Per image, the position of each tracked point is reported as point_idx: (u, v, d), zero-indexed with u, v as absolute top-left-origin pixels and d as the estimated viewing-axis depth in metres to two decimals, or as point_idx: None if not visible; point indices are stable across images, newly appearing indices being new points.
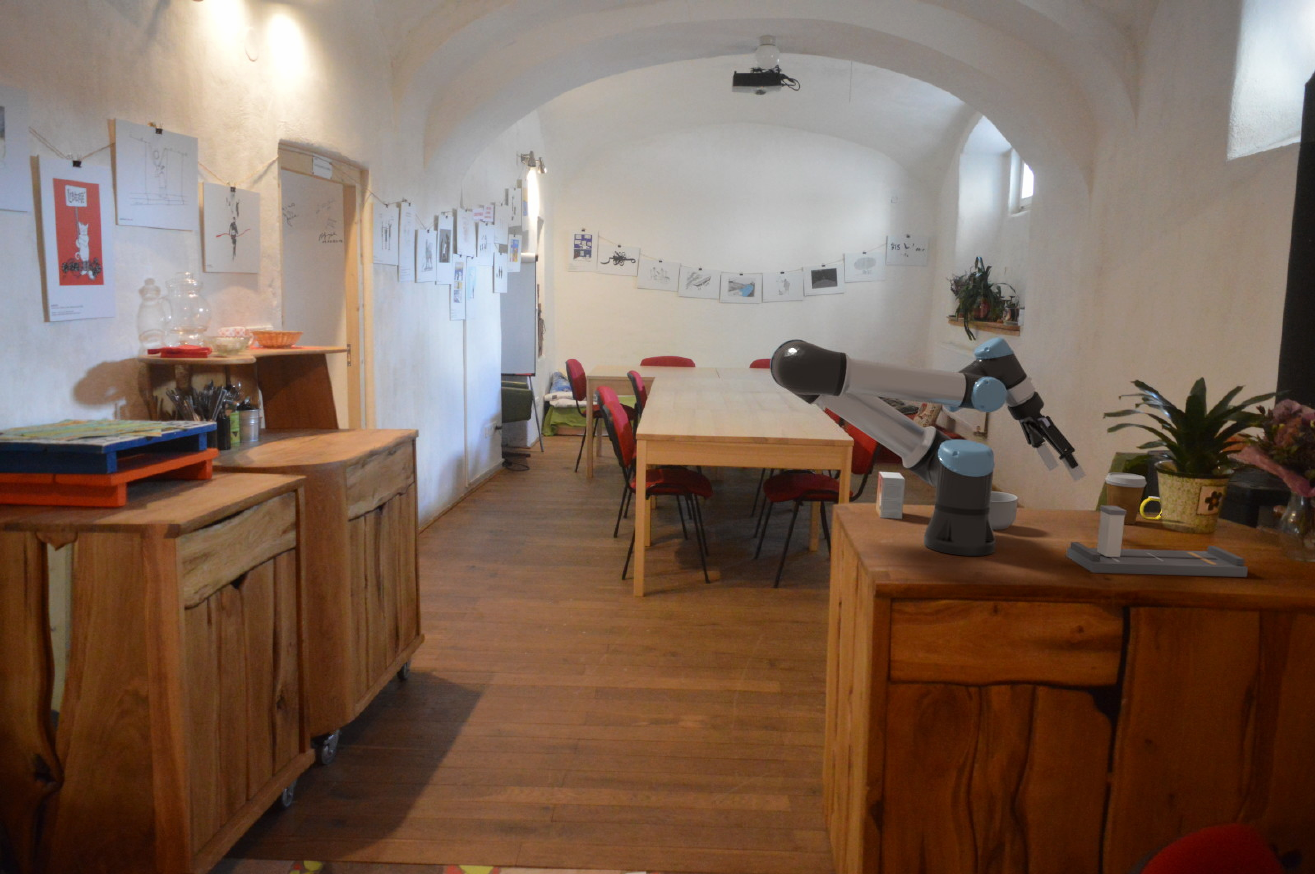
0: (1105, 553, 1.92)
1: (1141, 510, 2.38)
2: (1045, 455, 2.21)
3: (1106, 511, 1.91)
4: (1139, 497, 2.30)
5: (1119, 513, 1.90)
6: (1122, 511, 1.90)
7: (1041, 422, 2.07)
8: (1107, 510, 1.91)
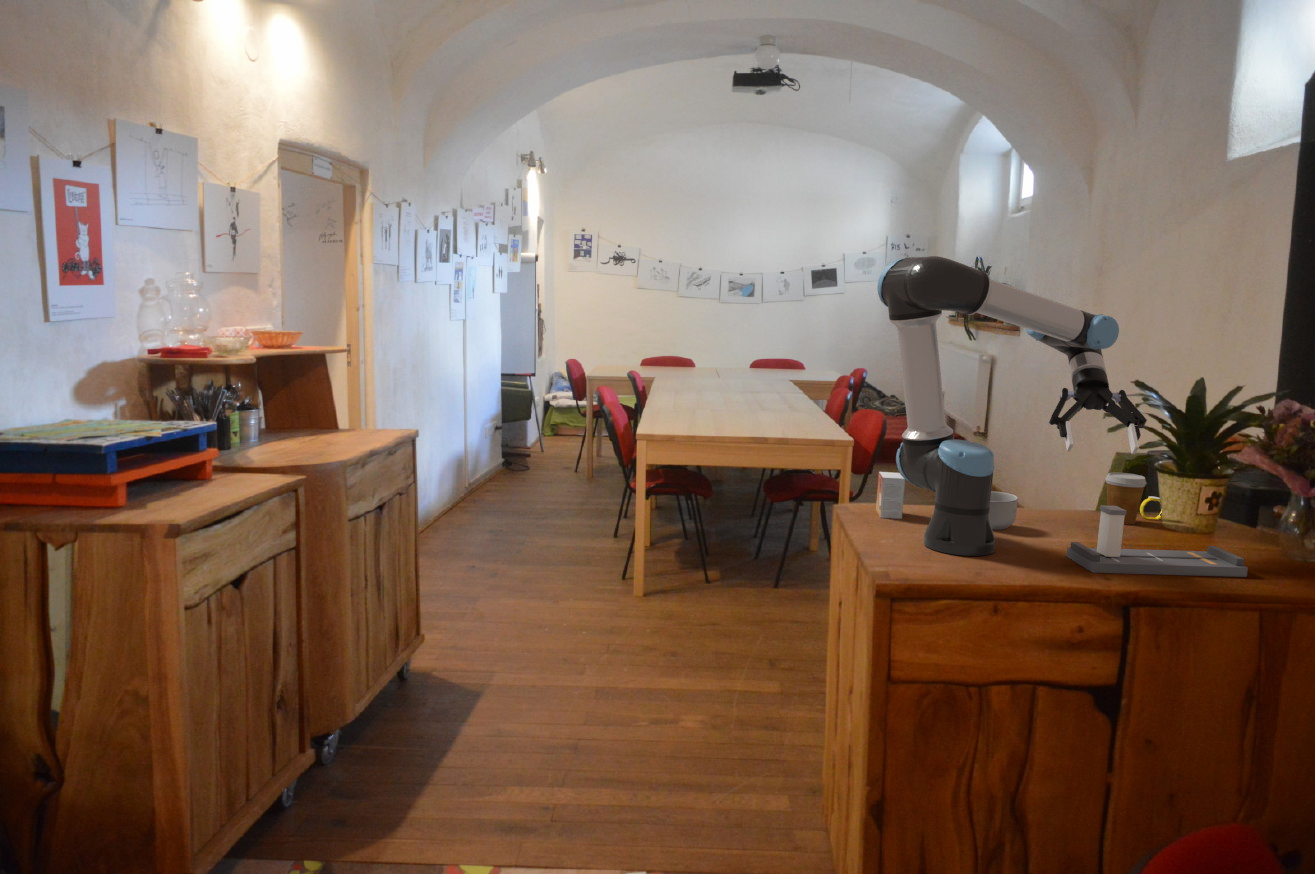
0: (1105, 553, 1.92)
1: (1141, 510, 2.38)
2: None
3: (1106, 511, 1.91)
4: (1139, 497, 2.30)
5: (1119, 513, 1.90)
6: (1122, 511, 1.90)
7: None
8: (1107, 510, 1.91)
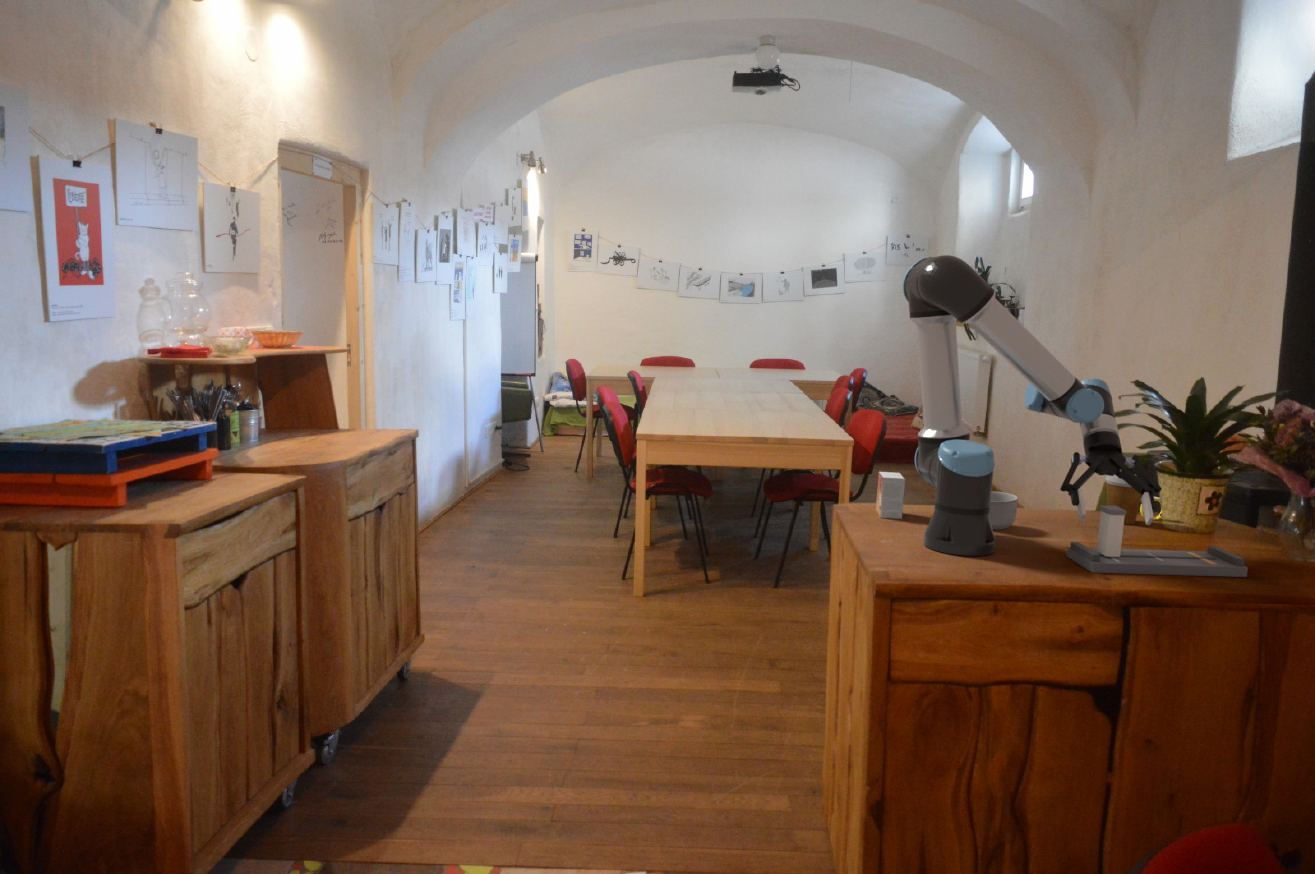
0: (1105, 553, 1.92)
1: (1141, 510, 2.38)
2: None
3: (1106, 511, 1.91)
4: (1139, 497, 2.30)
5: (1119, 513, 1.90)
6: (1122, 511, 1.90)
7: None
8: (1107, 510, 1.91)
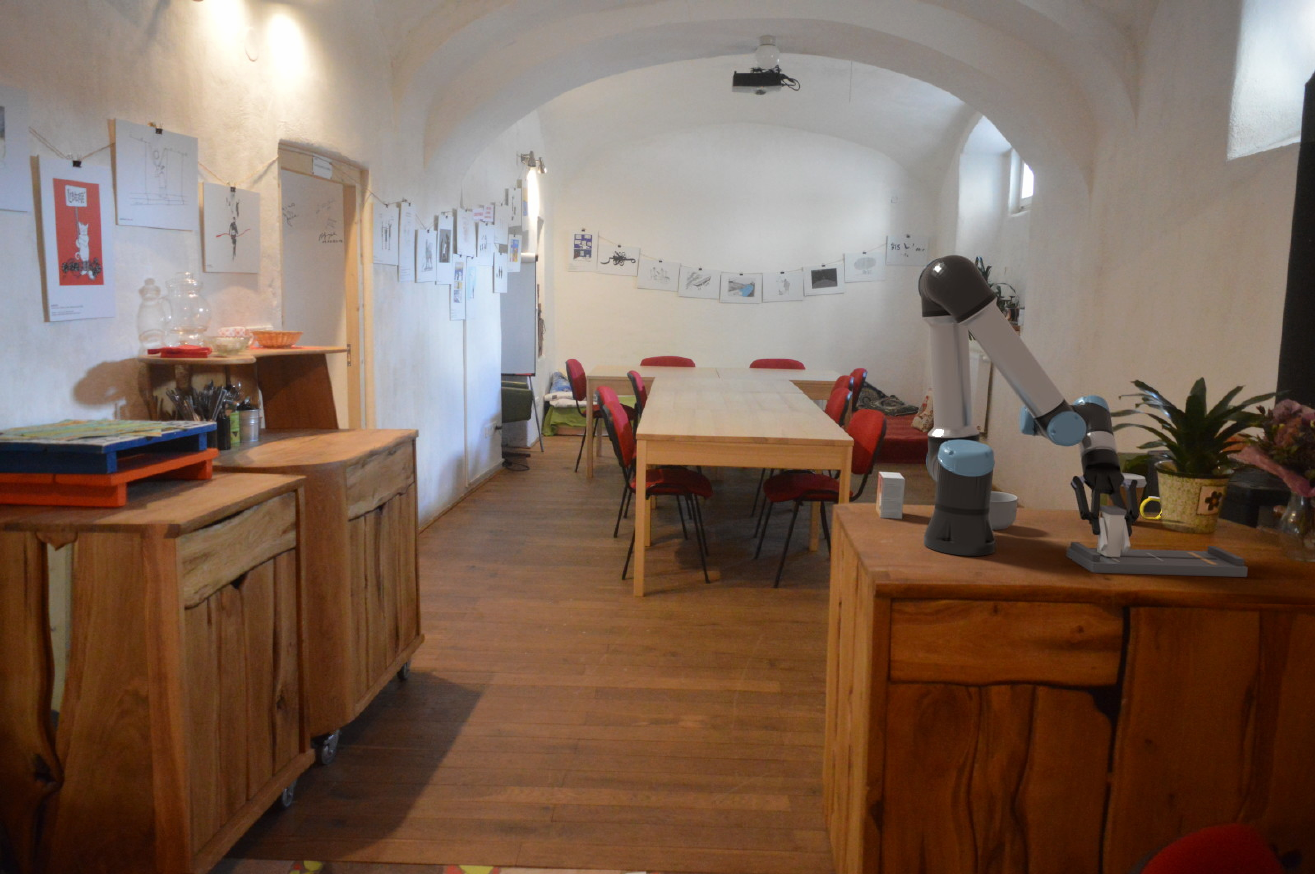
0: (1105, 553, 1.92)
1: (1141, 510, 2.38)
2: None
3: (1106, 511, 1.91)
4: (1139, 497, 2.30)
5: (1119, 513, 1.90)
6: (1122, 511, 1.90)
7: (1137, 482, 1.97)
8: (1107, 510, 1.91)
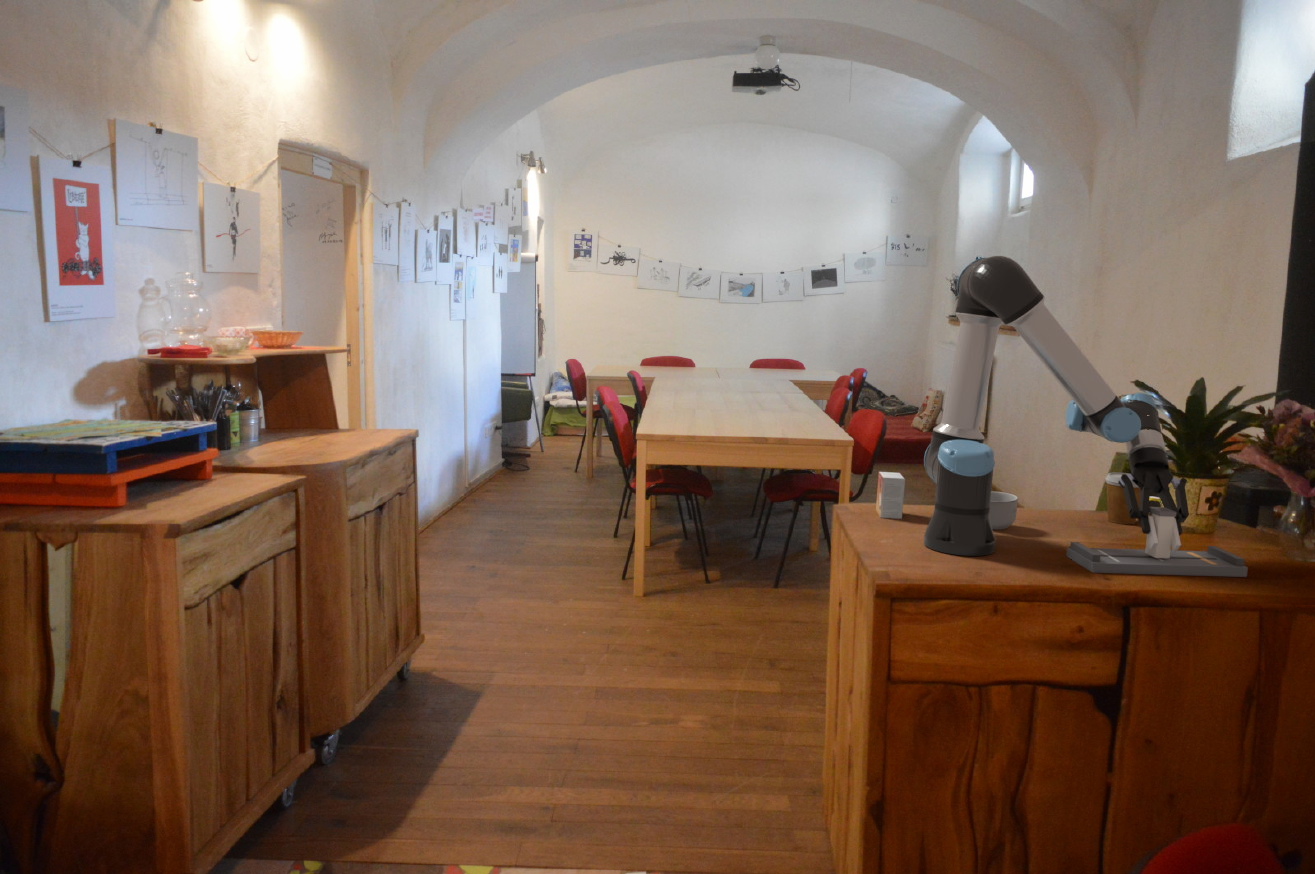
0: (1154, 554, 1.92)
1: None
2: None
3: (1155, 512, 1.92)
4: (1139, 497, 2.30)
5: (1169, 514, 1.90)
6: (1172, 512, 1.90)
7: None
8: (1156, 511, 1.91)
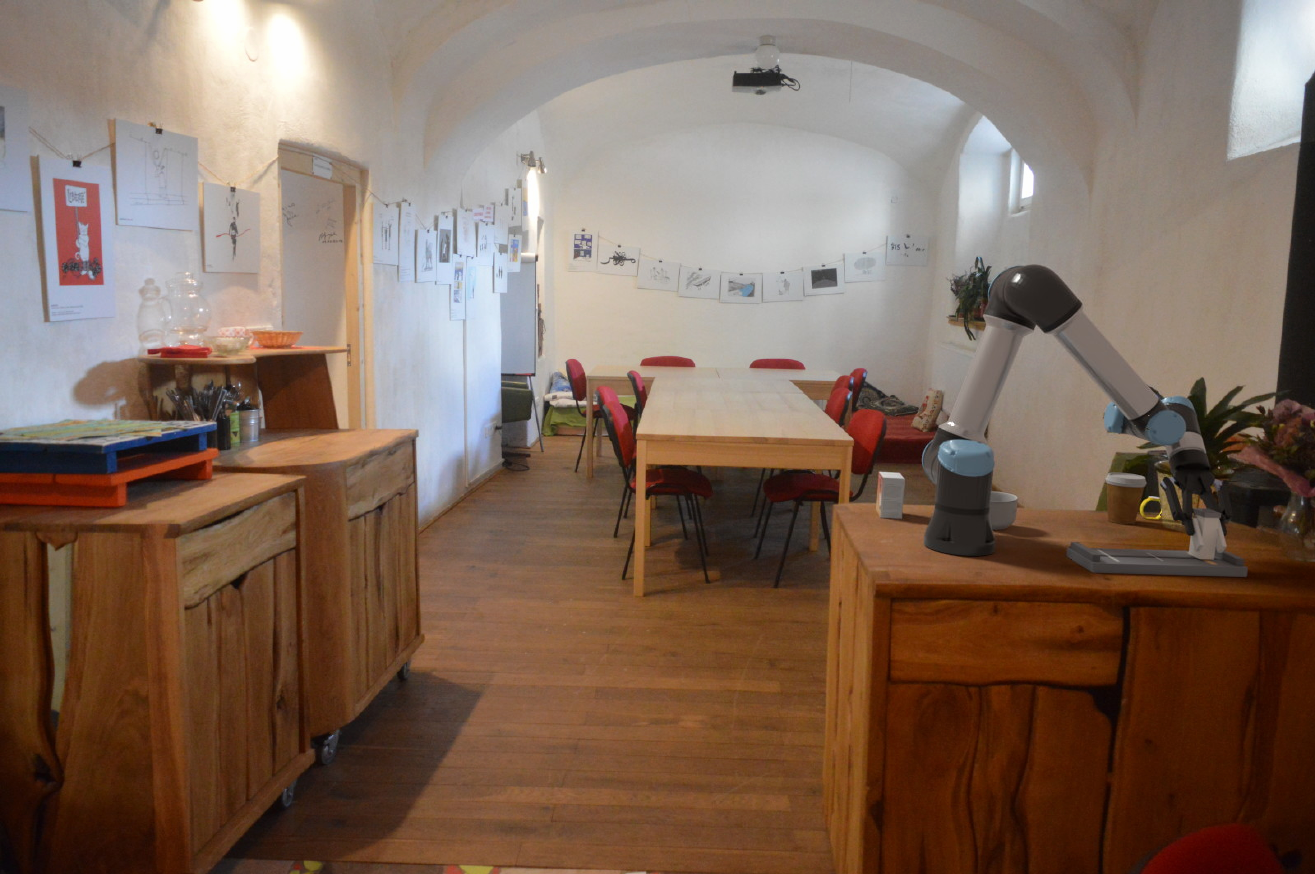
0: (1199, 556, 1.92)
1: (1141, 510, 2.38)
2: None
3: (1200, 514, 1.92)
4: (1139, 497, 2.30)
5: (1214, 516, 1.90)
6: (1217, 514, 1.90)
7: None
8: (1201, 513, 1.91)
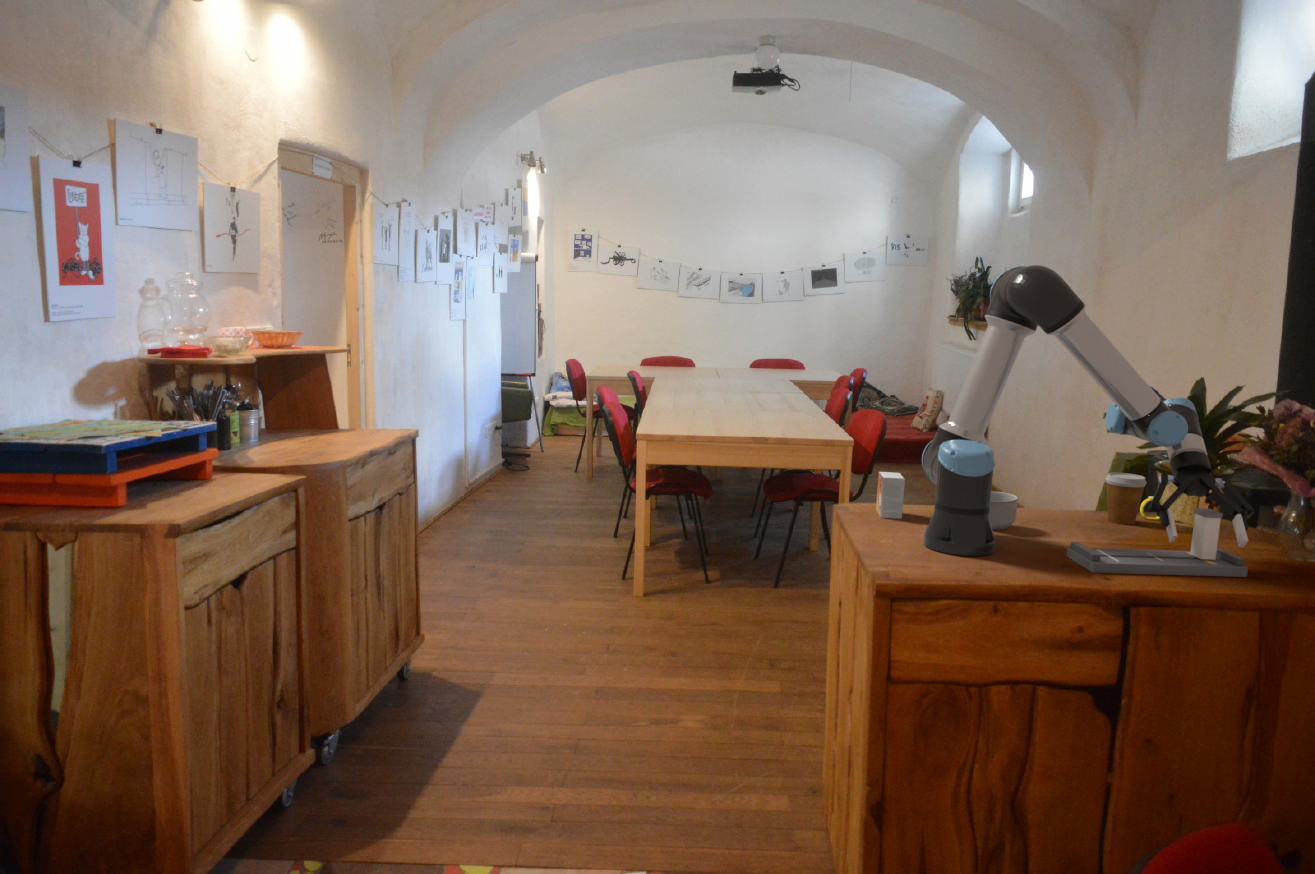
0: (1200, 556, 1.92)
1: (1141, 510, 2.38)
2: None
3: (1202, 514, 1.92)
4: (1139, 497, 2.30)
5: (1215, 516, 1.90)
6: (1218, 514, 1.90)
7: None
8: (1203, 513, 1.91)
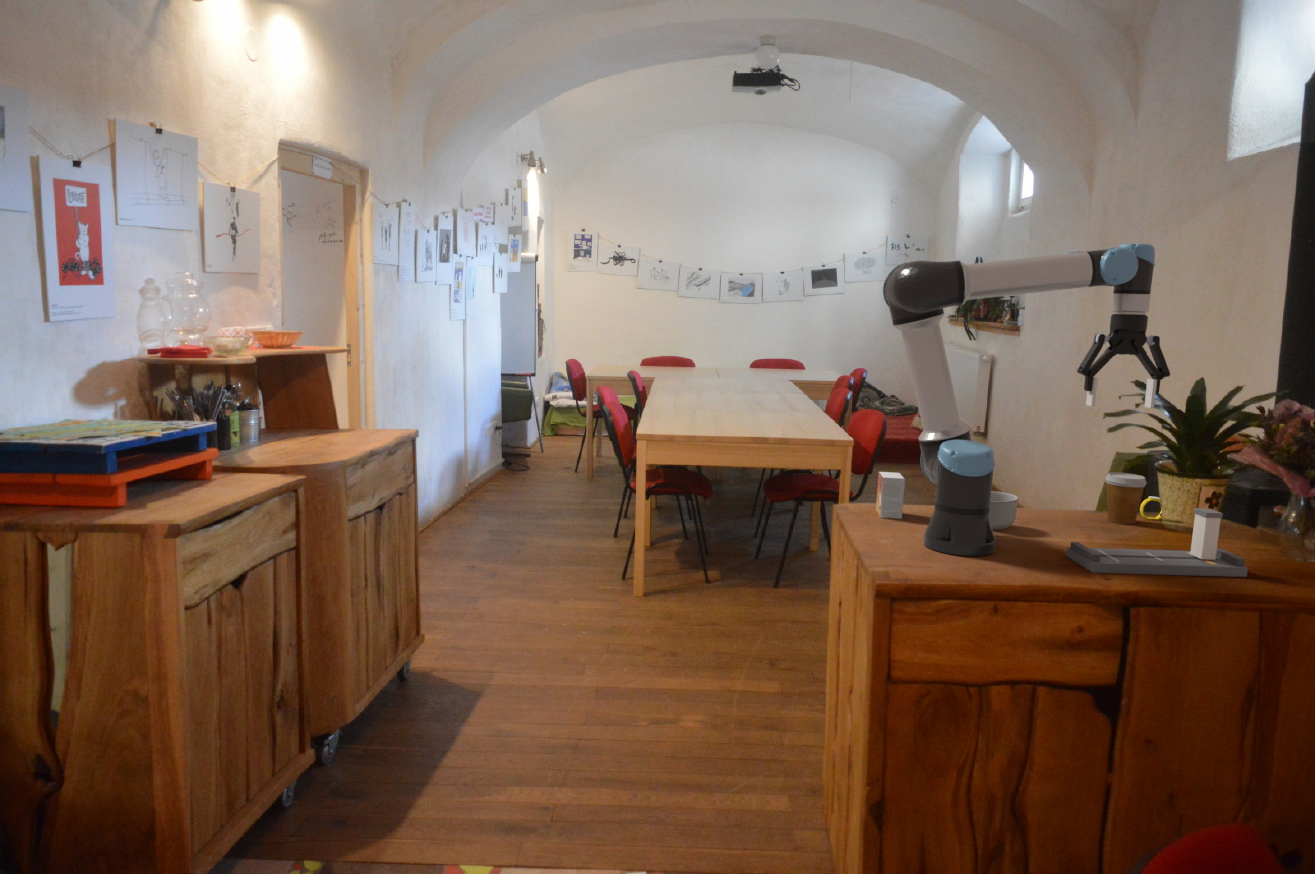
0: (1200, 556, 1.92)
1: (1141, 510, 2.38)
2: None
3: (1202, 514, 1.92)
4: (1139, 497, 2.30)
5: (1215, 516, 1.90)
6: (1218, 514, 1.90)
7: None
8: (1203, 513, 1.91)
